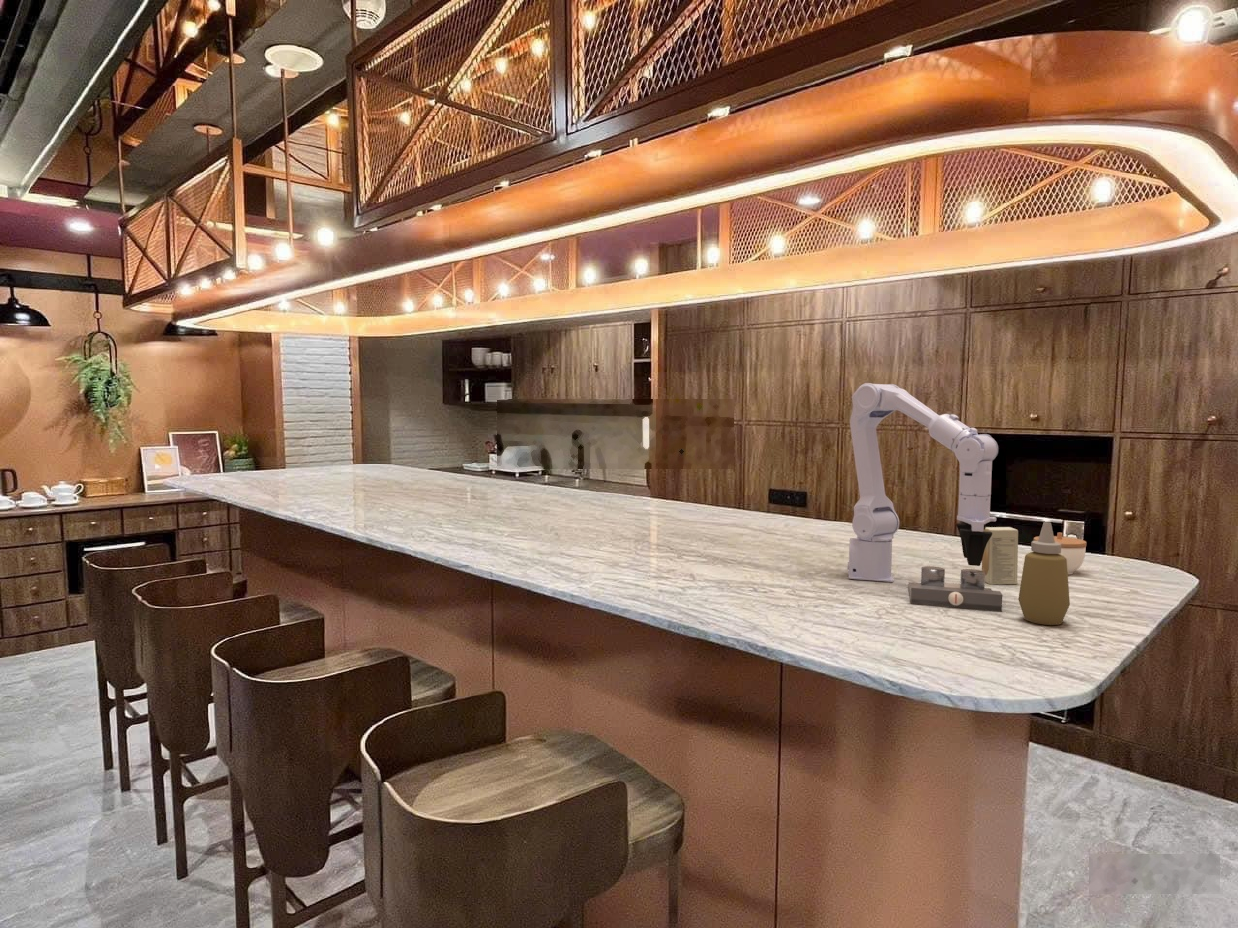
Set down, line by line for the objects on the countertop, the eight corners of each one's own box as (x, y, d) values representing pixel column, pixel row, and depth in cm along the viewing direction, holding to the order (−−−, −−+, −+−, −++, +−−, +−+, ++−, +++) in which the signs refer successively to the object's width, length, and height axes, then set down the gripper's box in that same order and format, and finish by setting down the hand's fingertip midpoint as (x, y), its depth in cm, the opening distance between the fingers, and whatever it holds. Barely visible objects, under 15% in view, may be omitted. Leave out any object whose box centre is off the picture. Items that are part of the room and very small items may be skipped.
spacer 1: (921, 589, 147) (922, 569, 147) (920, 584, 151) (921, 565, 151) (945, 591, 145) (945, 571, 145) (943, 586, 150) (943, 567, 149)
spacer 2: (961, 592, 144) (962, 572, 144) (958, 587, 148) (959, 568, 148) (986, 594, 143) (986, 574, 143) (982, 589, 147) (983, 569, 147)
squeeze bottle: (1025, 612, 136) (1029, 518, 134) (1074, 621, 130) (1079, 522, 129) (1011, 621, 130) (1015, 522, 129) (1062, 630, 124) (1066, 527, 123)
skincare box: (1009, 580, 162) (1011, 526, 161) (1017, 584, 158) (1020, 529, 157) (979, 579, 162) (981, 526, 162) (987, 584, 158) (989, 529, 157)
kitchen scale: (910, 604, 141) (911, 588, 141) (908, 586, 156) (908, 572, 156) (1002, 612, 136) (1002, 595, 136) (990, 593, 150) (991, 577, 150)
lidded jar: (1022, 567, 176) (1023, 529, 175) (1062, 566, 177) (1064, 528, 176) (1053, 577, 165) (1055, 536, 164) (1096, 576, 166) (1098, 536, 165)
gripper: (1002, 499, 136) (999, 570, 137) (991, 491, 150) (988, 556, 151) (961, 498, 139) (958, 567, 140) (954, 490, 152) (952, 553, 153)
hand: (971, 561), depth 145 cm, fingers open, 7 cm apart
